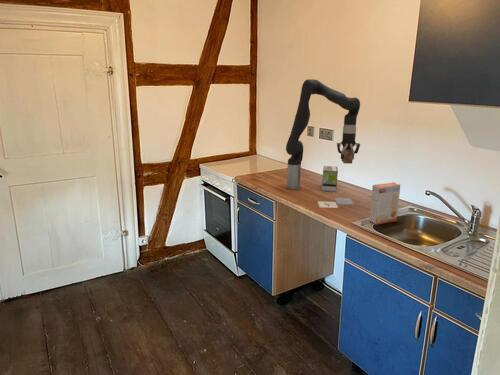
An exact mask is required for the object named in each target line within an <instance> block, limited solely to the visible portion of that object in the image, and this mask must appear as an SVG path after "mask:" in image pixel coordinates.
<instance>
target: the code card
mask: <svg viewBox="0 0 500 375" xmlns="http://www.w3.org/2000/svg"><path fill="white" fill-rule="evenodd" d="M317 204H318V207H319V208H331V209H332V208H333V209H334V208H335V209H336V208H339V206H338V204H337V203H336V201H317Z"/></svg>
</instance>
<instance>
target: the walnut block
mask: <svg viewBox="0 0 500 375" xmlns="http://www.w3.org/2000/svg"><path fill="white" fill-rule="evenodd" d="M353 160H354V159H353V150H351V149H346V150H344V157H343V160H342V159H341V161H342V163H343V164H347V165H348V164H353Z"/></svg>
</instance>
